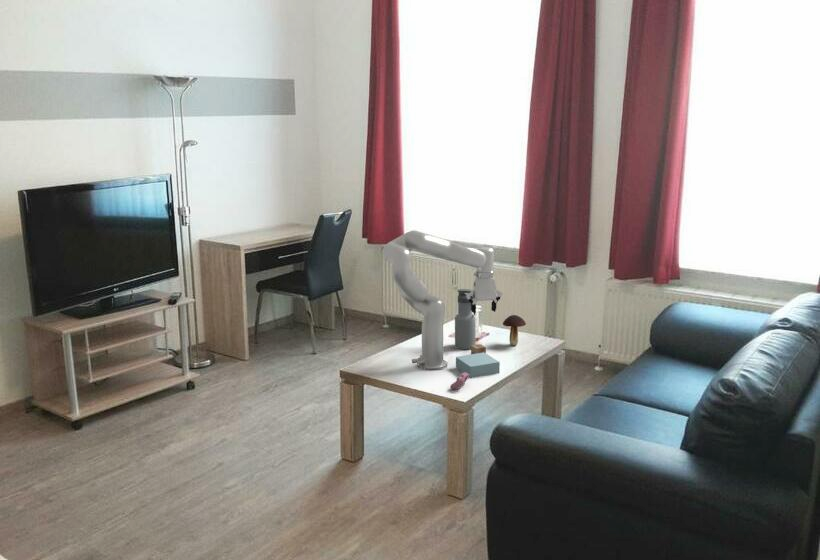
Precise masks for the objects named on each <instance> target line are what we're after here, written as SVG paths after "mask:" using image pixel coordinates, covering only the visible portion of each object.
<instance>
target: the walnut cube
mask: <svg viewBox="0 0 820 560" xmlns="http://www.w3.org/2000/svg"><path fill="white" fill-rule="evenodd" d="M483 352H484V353H486V354H487V346H485V345H483V344H482V343H479V344H475V345H471V349H470V355H471V354H477V353H483Z"/></svg>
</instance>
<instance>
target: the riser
mask: <svg viewBox="0 0 820 560" xmlns="http://www.w3.org/2000/svg"><path fill="white" fill-rule="evenodd" d="M500 364H501V363H500V361H499V360H497V359H496V358H494V357H493V356H490V355H489V354H487V352H486V353H484V352H483V353H477V354H471V353H470V354H465V355H459V356H455V368H456V369H457V370H458V371H460V372H461V373H464V372H465V373H468V374H469V377H468V378H470V379H473V378H478V377H484V376H490V375H496V374H500ZM472 377H473V378H472Z"/></svg>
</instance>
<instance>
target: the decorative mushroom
mask: <svg viewBox="0 0 820 560" xmlns="http://www.w3.org/2000/svg"><path fill="white" fill-rule="evenodd" d="M502 325H503V327H510V330H509V331H510V332H509V344H510V345H511V346H513V345H514V346H517V345H518V343H519V331H518V328H519V327H520V328H521V327H524V326H526V325H527V322H526V321H525V320H524V319H523V318H522V317H521V316H519V315H515V314H511V315H509V316H508V317H507V318H505V319H504V320H503V321H502Z"/></svg>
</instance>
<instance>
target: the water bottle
mask: <svg viewBox="0 0 820 560" xmlns="http://www.w3.org/2000/svg"><path fill="white" fill-rule="evenodd" d="M472 291H473V289H471V288H458V289H457V293H458V295H457V304H458V305H457V311H458V312H457V313H458V314H456V315H455V316H454V346H455V348H457V349H459V350H471V345H476V313H473V312H472V311H471V303H470V302H469V301H468V299H467V297H466V295H467V294H468V293H470V292H472ZM470 298H471V300H472V299H473V295H472V296H470ZM476 304H477V302H476V303H475V305H476ZM476 306H477V305H476Z"/></svg>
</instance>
